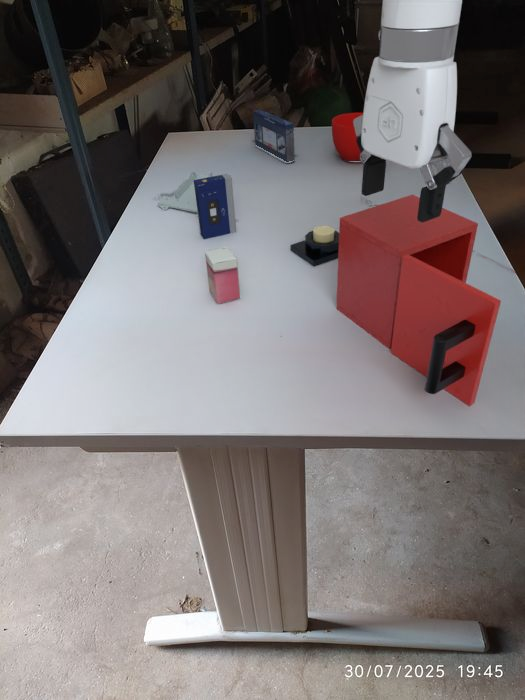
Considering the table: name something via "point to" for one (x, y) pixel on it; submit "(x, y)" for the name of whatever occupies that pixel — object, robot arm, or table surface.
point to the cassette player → (215, 205)
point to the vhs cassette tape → (274, 135)
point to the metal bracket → (183, 195)
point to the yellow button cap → (323, 234)
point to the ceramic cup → (346, 136)
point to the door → (443, 328)
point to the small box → (222, 274)
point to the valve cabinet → (394, 258)
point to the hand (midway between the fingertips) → (399, 205)
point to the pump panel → (316, 249)
